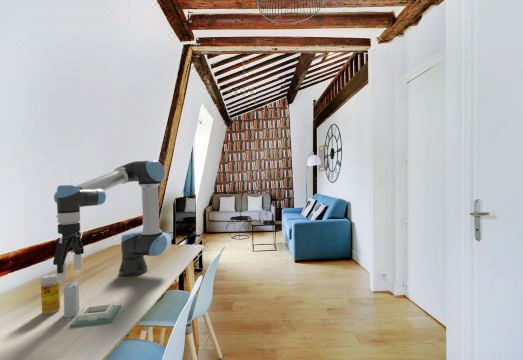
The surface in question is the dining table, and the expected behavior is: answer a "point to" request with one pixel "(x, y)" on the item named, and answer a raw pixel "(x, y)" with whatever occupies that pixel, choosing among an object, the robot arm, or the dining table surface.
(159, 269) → the dining table surface
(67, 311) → the skincare box
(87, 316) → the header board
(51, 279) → the beer can
